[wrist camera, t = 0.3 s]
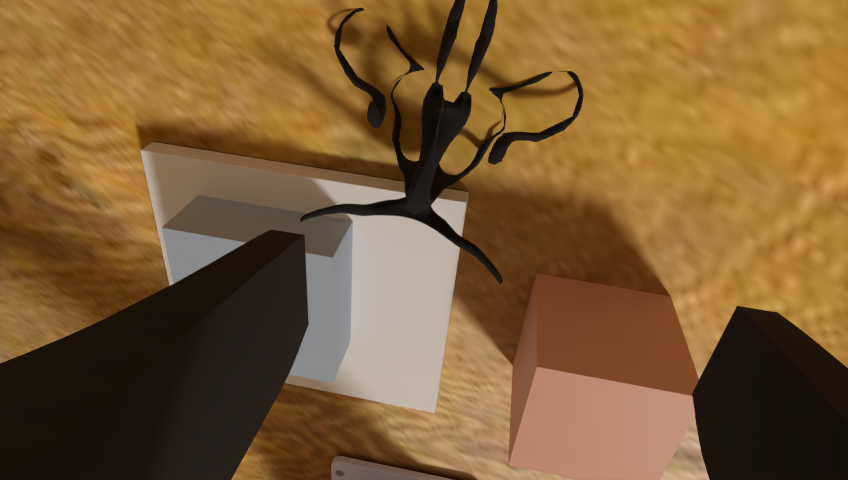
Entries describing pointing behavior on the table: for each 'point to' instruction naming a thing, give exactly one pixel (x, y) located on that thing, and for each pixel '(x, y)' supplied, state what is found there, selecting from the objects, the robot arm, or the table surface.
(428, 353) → the board
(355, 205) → the creature
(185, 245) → the base brick
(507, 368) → the table surface
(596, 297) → the top brick
